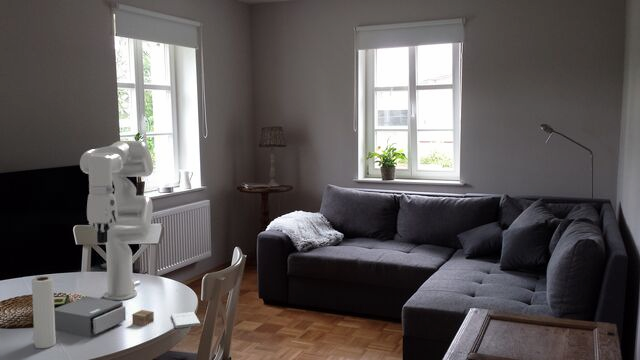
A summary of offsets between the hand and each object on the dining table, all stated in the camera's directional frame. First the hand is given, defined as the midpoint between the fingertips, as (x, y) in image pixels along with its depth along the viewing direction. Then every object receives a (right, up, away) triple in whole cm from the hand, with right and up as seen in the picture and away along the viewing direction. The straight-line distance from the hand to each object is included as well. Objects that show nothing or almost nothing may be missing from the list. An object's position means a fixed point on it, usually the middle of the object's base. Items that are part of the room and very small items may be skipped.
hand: (102, 242), depth 207 cm
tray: (-1, -27, -6) cm, 28 cm away
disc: (0, -26, -7) cm, 27 cm away
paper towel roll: (-10, -30, -22) cm, 38 cm away
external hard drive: (+29, -28, 0) cm, 41 cm away
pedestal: (+15, -28, -2) cm, 31 cm away
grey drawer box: (-3, -28, -6) cm, 29 cm away
